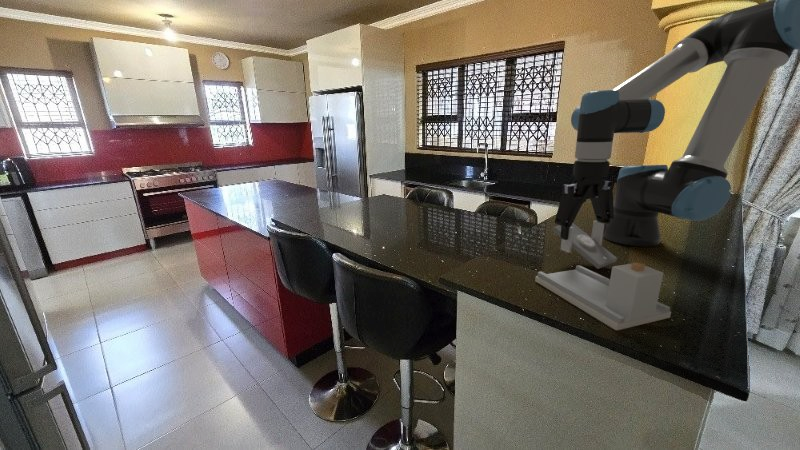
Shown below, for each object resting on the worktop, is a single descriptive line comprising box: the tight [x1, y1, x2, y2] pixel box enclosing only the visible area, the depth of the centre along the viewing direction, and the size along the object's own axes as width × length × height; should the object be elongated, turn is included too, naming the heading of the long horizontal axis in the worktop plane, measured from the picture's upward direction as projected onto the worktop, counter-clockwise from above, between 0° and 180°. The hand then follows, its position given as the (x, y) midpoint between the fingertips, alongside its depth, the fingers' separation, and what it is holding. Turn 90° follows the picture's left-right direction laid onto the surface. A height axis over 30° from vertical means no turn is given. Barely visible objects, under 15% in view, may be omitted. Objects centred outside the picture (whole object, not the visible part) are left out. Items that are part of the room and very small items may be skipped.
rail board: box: [534, 262, 672, 331], centre depth 69 cm, size 13×21×10 cm, turn 18°
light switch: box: [551, 222, 618, 270], centre depth 88 cm, size 8×6×14 cm
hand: (580, 248), depth 87 cm, fingers closed on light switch, 9 cm apart
